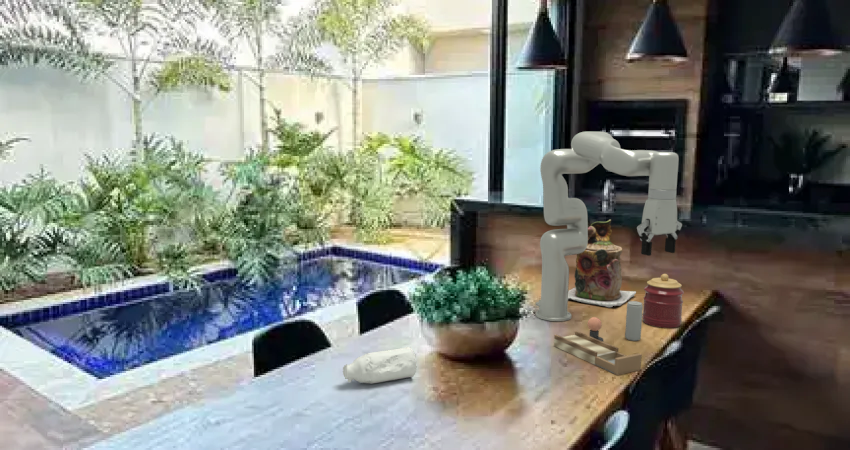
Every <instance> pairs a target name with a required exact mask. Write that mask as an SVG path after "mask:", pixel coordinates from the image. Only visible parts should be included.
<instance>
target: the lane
mask: <svg viewBox="0 0 850 450" xmlns="http://www.w3.org/2000/svg"><path fill="white" fill-rule="evenodd" d="M553 347H555V348H557V349H559V350H562V351H564V352H565V353H568V354H570V355H572V356H575V357H576V358H579V359H581V360H583V361H585V362H588V363H590V364H592V365H594V366H596V365H595V357H600V358H602V359H604V360H606V361H609V360H613V359H615V358H616V352H619V347H617V346H615V345H612V344H609V343H607V342H605V341H603V342H602V341H600V340H598V339H595V338H593V337H590V335H588V334H586V333H583V332H581V331H578V330H575V331H574V334H573V335H567V336H561V335H558V334H554V336H553Z"/></svg>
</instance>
